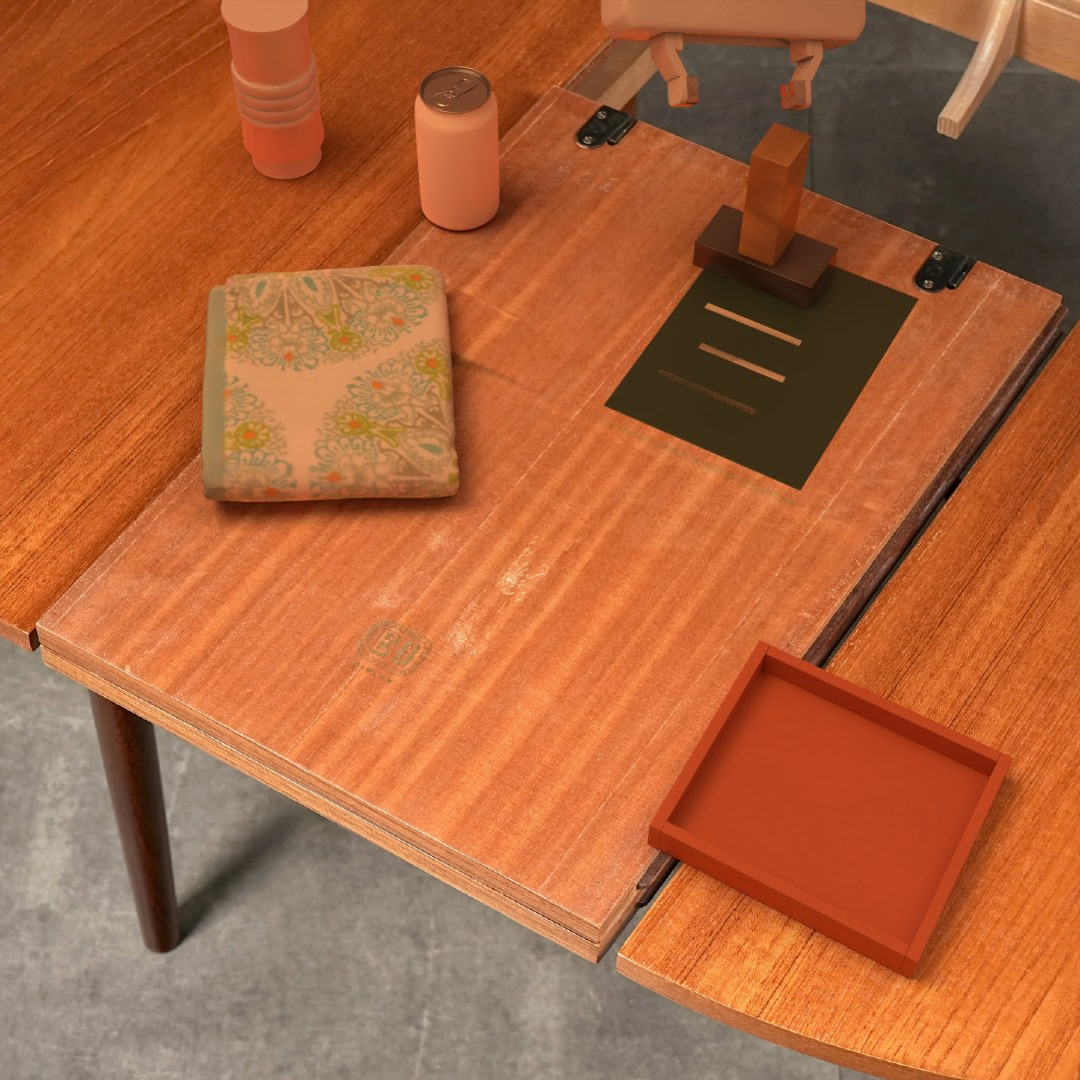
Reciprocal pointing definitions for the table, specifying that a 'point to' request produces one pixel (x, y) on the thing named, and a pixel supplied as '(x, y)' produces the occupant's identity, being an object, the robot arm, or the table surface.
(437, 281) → the towel
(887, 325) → the slate board
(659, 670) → the table surface
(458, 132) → the can
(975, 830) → the tray
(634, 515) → the table surface
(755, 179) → the duster
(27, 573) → the table surface
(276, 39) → the pink ridged cylinder
